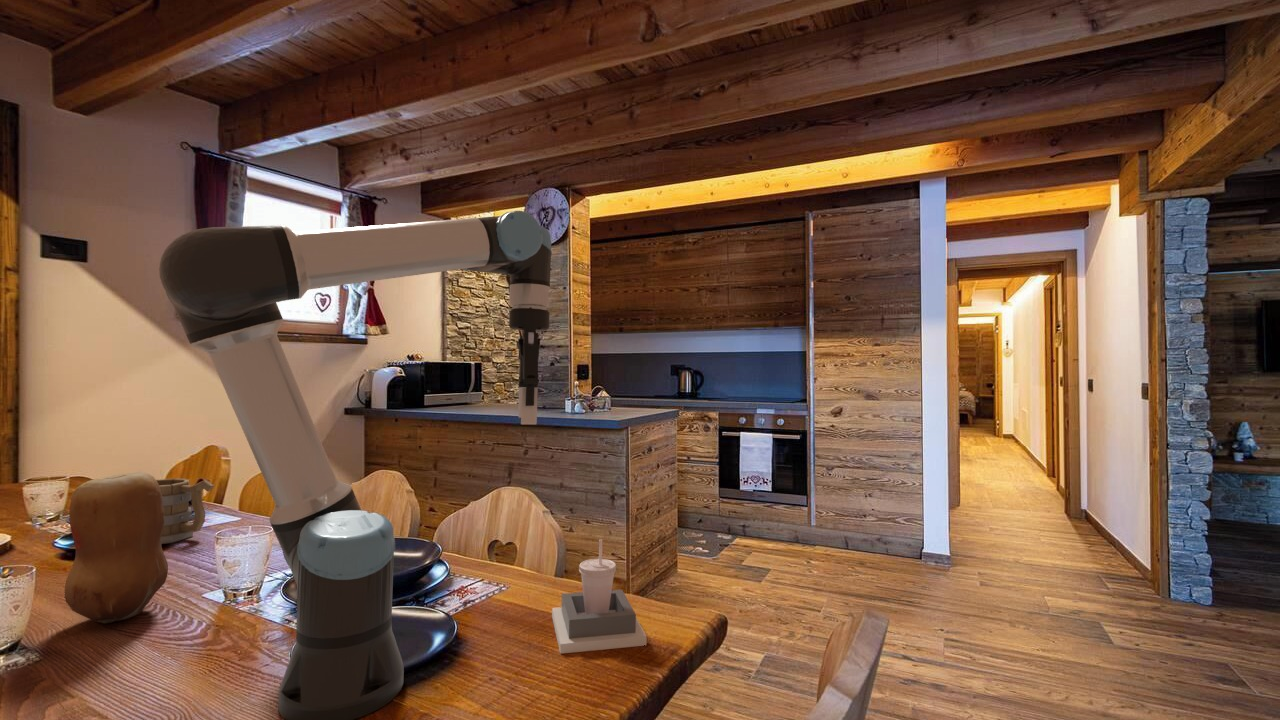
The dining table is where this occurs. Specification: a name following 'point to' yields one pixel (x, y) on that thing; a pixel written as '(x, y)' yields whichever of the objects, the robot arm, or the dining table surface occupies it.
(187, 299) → the robot arm
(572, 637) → the holder
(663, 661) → the dining table surface
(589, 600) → the smoothie
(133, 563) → the butternut squash
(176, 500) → the tankard
